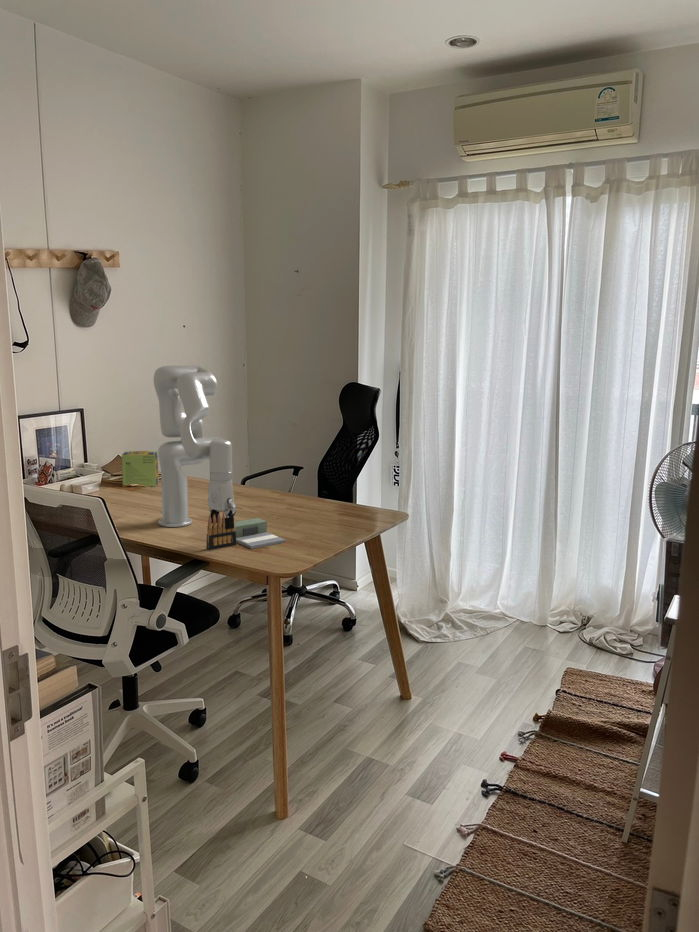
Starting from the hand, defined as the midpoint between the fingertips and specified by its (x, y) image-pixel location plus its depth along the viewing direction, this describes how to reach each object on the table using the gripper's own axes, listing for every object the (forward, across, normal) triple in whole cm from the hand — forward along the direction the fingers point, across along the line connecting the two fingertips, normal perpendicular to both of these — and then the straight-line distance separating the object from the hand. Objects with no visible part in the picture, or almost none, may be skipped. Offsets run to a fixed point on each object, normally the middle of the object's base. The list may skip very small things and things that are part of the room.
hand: (222, 525), depth 251 cm
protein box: (+5, -110, +19) cm, 111 cm away
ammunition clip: (+8, -1, 0) cm, 8 cm away
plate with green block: (+7, -2, +14) cm, 16 cm away
